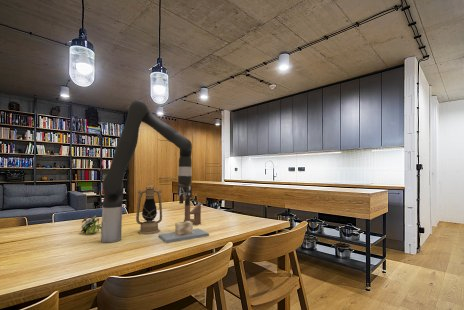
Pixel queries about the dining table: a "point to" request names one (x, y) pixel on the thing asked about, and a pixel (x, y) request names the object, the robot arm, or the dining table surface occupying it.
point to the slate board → (182, 236)
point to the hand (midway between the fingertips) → (184, 204)
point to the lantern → (149, 211)
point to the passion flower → (87, 227)
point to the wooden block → (196, 212)
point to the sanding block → (183, 228)
